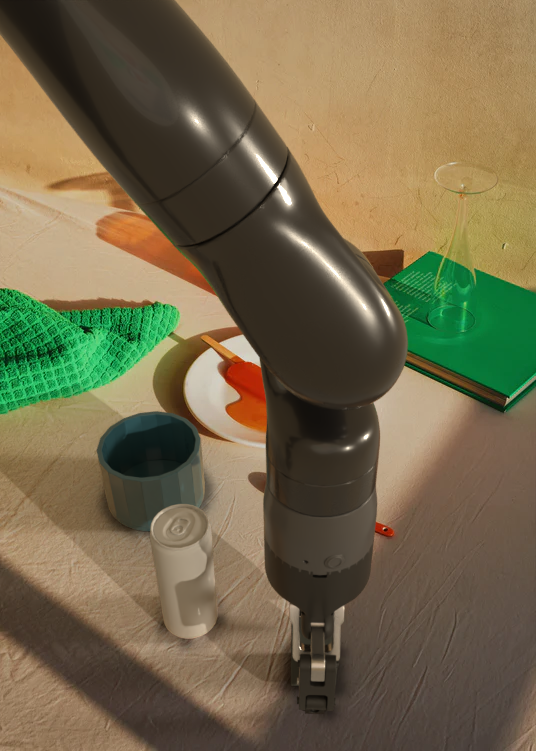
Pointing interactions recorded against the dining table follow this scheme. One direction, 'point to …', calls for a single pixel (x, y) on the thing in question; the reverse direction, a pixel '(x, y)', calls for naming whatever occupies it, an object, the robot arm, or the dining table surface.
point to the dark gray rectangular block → (294, 663)
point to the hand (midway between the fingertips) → (313, 661)
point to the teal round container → (150, 466)
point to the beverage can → (185, 570)
